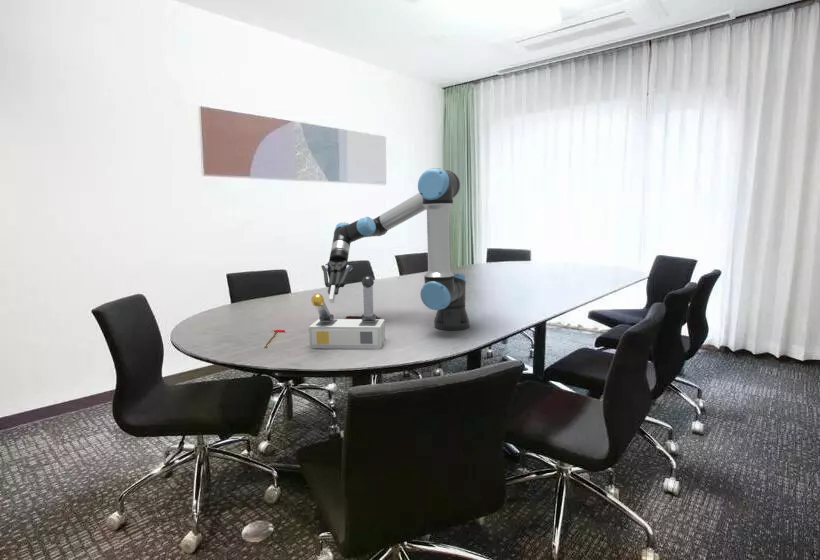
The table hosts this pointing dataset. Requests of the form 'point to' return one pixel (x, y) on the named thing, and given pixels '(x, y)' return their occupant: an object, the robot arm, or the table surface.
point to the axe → (274, 336)
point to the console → (347, 334)
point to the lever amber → (321, 308)
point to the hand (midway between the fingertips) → (331, 300)
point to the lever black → (368, 299)
